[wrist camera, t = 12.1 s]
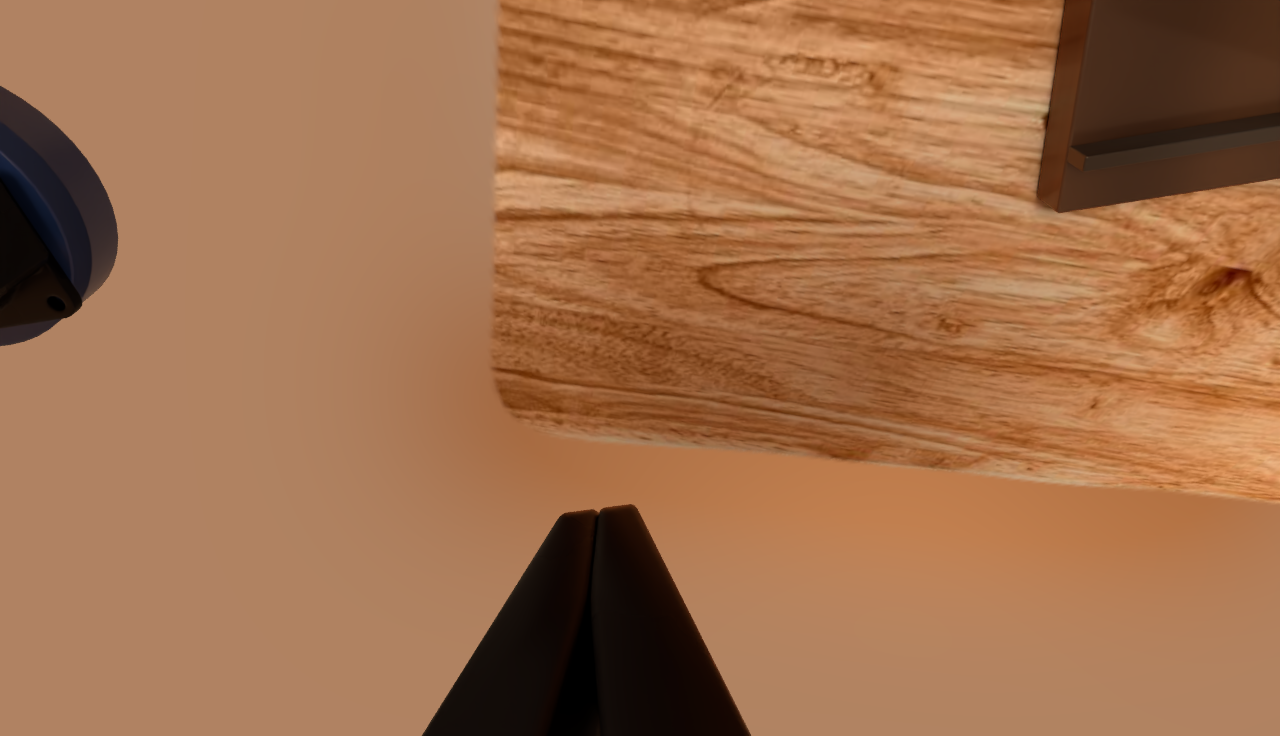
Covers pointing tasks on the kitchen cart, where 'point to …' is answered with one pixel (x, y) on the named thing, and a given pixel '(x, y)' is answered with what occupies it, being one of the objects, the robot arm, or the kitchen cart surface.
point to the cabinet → (1162, 100)
